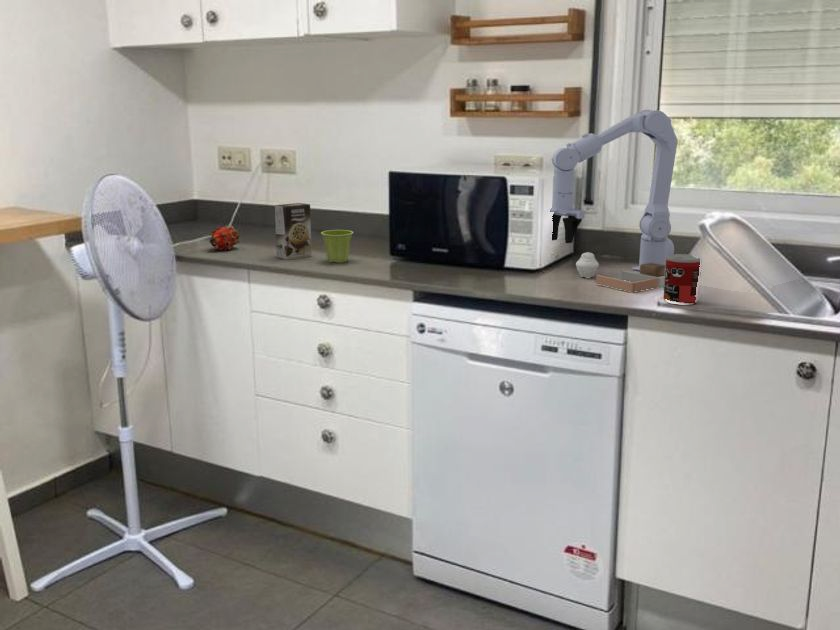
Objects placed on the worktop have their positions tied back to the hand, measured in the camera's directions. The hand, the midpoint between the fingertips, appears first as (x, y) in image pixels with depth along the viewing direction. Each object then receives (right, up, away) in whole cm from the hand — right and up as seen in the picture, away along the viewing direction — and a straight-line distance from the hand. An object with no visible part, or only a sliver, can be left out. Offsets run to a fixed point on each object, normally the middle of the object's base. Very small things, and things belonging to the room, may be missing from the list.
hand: (561, 241), depth 237 cm
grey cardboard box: (-78, -3, +24) cm, 82 cm away
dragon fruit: (-102, 0, +36) cm, 108 cm away
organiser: (+18, -12, -14) cm, 26 cm away
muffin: (+6, -10, -6) cm, 13 cm away
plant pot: (-64, -5, +17) cm, 66 cm away
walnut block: (+22, -12, -11) cm, 27 cm away
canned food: (+23, -18, -33) cm, 44 cm away
